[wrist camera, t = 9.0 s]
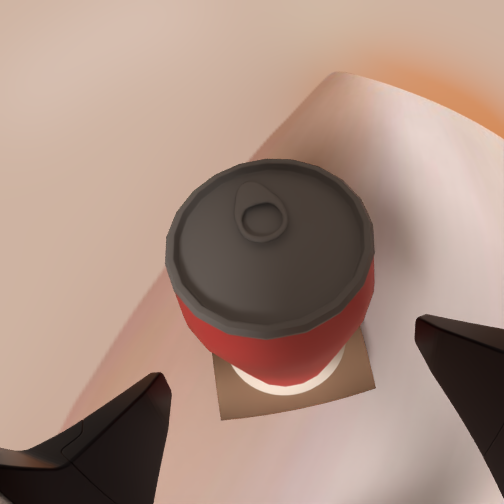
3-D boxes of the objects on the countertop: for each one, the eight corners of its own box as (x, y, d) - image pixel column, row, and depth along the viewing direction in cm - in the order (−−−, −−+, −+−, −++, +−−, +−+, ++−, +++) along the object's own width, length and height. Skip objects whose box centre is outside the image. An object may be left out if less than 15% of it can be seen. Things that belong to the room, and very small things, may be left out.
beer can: (314, 278, 19) (324, 129, 9) (351, 365, 15) (439, 292, 5) (224, 308, 19) (143, 186, 9) (251, 400, 15) (165, 394, 5)
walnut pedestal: (364, 390, 17) (376, 387, 14) (231, 418, 17) (220, 420, 15) (333, 273, 22) (337, 253, 20) (215, 298, 23) (204, 282, 20)
